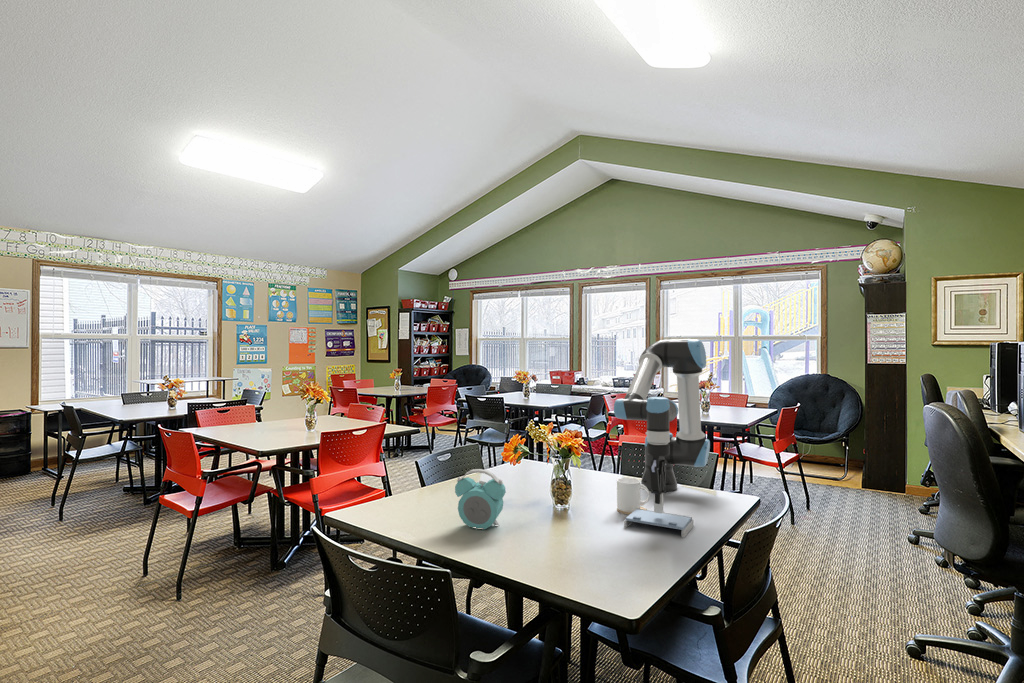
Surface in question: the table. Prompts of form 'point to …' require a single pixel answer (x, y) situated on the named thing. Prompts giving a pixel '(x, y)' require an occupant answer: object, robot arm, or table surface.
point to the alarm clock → (480, 500)
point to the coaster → (629, 512)
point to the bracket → (683, 532)
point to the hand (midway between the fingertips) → (658, 512)
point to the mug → (629, 494)
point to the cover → (659, 519)
